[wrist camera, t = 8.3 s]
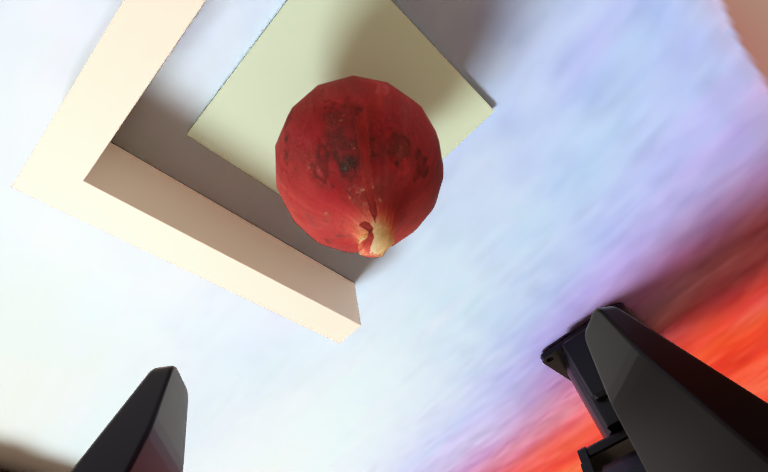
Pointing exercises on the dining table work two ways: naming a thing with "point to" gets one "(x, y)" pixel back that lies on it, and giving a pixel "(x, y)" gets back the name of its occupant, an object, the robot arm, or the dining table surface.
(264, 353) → the dining table surface
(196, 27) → the dining table surface
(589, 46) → the dining table surface
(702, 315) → the dining table surface
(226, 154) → the arena
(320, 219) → the onion
